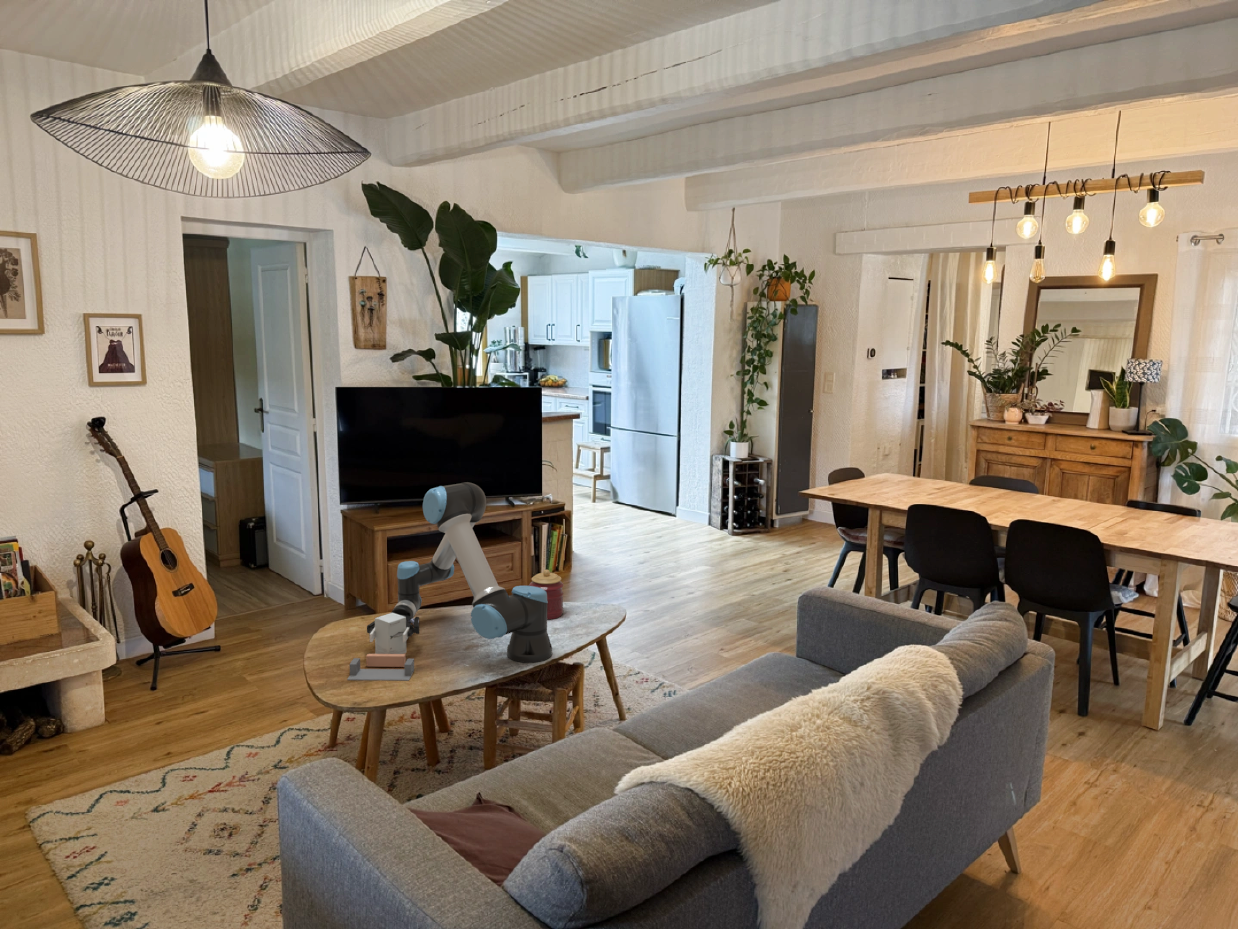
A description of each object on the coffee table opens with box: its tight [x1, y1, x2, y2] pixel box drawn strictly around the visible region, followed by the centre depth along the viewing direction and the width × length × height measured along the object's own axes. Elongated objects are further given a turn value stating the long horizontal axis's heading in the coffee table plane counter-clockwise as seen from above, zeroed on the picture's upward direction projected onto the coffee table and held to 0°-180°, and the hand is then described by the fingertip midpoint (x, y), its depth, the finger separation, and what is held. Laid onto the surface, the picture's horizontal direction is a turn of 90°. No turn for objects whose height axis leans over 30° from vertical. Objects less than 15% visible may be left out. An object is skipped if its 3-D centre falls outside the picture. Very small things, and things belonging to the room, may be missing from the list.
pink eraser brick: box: [365, 653, 407, 668], centre depth 270 cm, size 2×12×4 cm, turn 92°
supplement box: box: [374, 612, 407, 654], centre depth 277 cm, size 7×7×13 cm
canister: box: [528, 569, 564, 620], centre depth 320 cm, size 13×13×18 cm
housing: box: [346, 657, 415, 681], centre depth 264 cm, size 8×19×4 cm, turn 92°
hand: (387, 638), depth 272 cm, fingers closed on supplement box, 10 cm apart
